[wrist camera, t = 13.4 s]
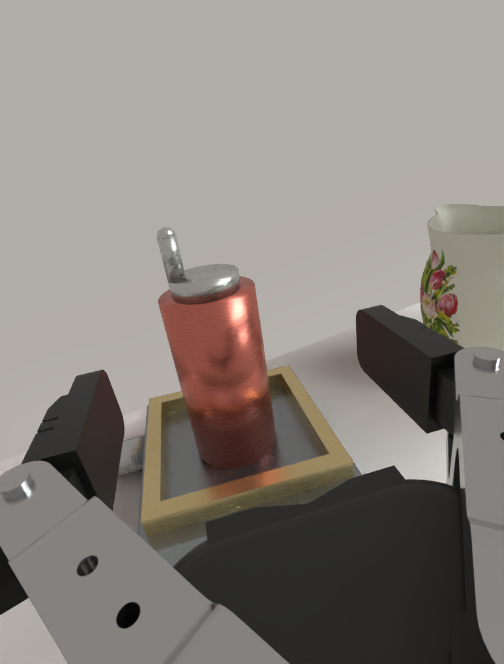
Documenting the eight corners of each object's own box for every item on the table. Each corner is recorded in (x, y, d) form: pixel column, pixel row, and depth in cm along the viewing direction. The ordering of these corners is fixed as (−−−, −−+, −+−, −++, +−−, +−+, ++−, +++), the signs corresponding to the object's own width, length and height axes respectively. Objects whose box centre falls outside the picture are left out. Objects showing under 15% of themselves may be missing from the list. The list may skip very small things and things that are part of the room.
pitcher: (493, 433, 27) (522, 246, 21) (389, 334, 43) (390, 213, 38) (638, 408, 27) (704, 216, 22) (479, 318, 44) (494, 196, 38)
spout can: (265, 405, 29) (235, 208, 22) (286, 455, 24) (254, 219, 17) (194, 423, 28) (142, 224, 22) (200, 478, 23) (135, 241, 17)
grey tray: (295, 397, 35) (290, 358, 33) (370, 523, 22) (369, 471, 20) (121, 442, 32) (107, 402, 31) (94, 610, 20) (67, 559, 18)
